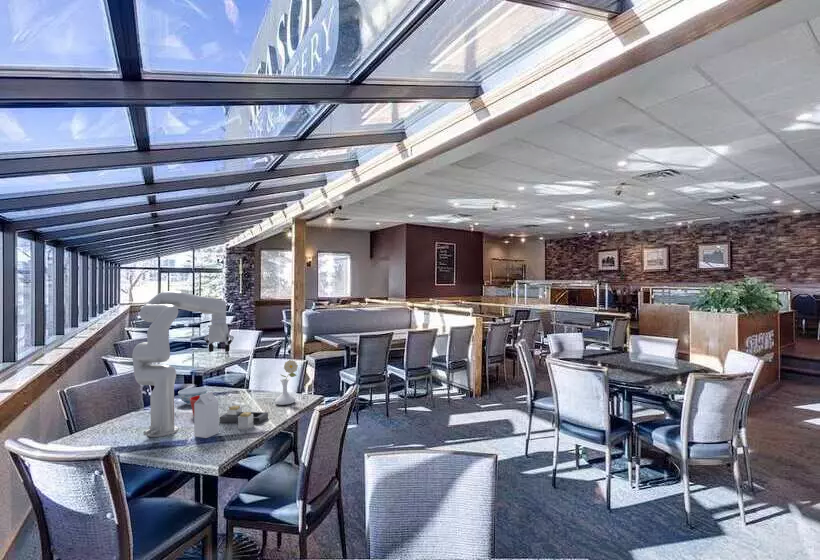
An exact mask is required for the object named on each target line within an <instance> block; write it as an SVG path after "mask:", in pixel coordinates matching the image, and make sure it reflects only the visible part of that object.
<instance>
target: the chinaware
mask: <svg viewBox="0 0 820 560" xmlns="http://www.w3.org/2000/svg"><path fill="white" fill-rule="evenodd" d="M207 391H208V388H207V387H203V386H199V387H197V386H195V387H187V388H183V389H181V390H179V391H178V392H177V394H178V396H179V399H180V400H181V401H182V402H184V403H186V404H185V405H186V406H191V402H190V398H192V397H194V396H198V395H203V394H206V393H208V392H207Z"/></svg>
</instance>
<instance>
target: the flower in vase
mask: <svg viewBox="0 0 820 560" xmlns="http://www.w3.org/2000/svg"><path fill="white" fill-rule="evenodd" d="M283 369H284V371H285V372H286V373H288V374H287V376H286V375H285V374H284V375H282V374H280V376H281V377H284V378H282V379H280V382H281V384H282V393H281V394H279V396H278V397H276V398H275V400H274V403H275V404H276V405H280V406H285V405H290V404H293V403H295V402H296V398H295V397H294V396H293V395H292V394H290V393H289V392H288V383H289V381H290V379H289V378H288V377H290V378H295V377H297V374H296V373H295V372H296V371H298V369H299V368H298V364H297V362H296V361H295V360H293V359H292V360H291V359H289V360H287V361H286V362H284V365H283Z"/></svg>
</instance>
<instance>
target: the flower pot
mask: <svg viewBox="0 0 820 560" xmlns="http://www.w3.org/2000/svg"><path fill="white" fill-rule="evenodd" d="M199 398H200V395H198V396H194V397H192V398H190V402H191V405H190V406H191V412H192V415H193V417H194V403H195V402H196V401H197V400H198V399H199Z"/></svg>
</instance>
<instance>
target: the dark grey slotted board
mask: <svg viewBox="0 0 820 560" xmlns="http://www.w3.org/2000/svg"><path fill="white" fill-rule="evenodd" d="M243 412H244V411H242V413H243ZM250 412H251V414H253V425H261V424H262V423H263V422H265V421H266V420H268V419H269V412H264V411H261V412H259V411H250ZM239 416H240V415H239ZM239 416H227V412H226V413H224V414H222V415H221V416H219V423H220V424H238V417H239Z"/></svg>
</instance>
